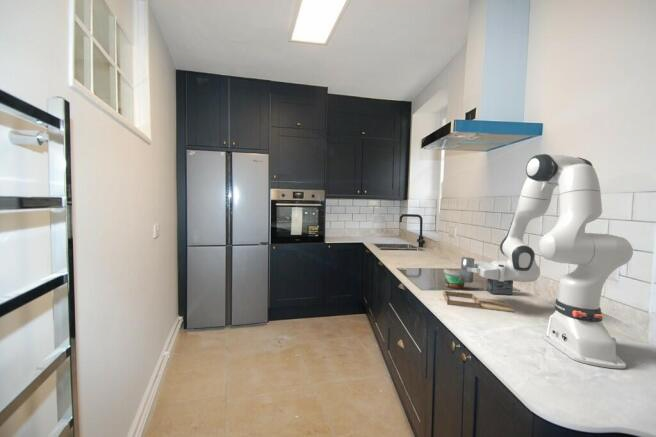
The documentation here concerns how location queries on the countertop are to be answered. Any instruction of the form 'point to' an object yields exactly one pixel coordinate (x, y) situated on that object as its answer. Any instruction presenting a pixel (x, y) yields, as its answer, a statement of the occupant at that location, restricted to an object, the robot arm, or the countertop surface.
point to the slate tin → (465, 274)
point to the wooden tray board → (477, 302)
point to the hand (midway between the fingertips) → (465, 267)
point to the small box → (500, 287)
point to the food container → (453, 279)
